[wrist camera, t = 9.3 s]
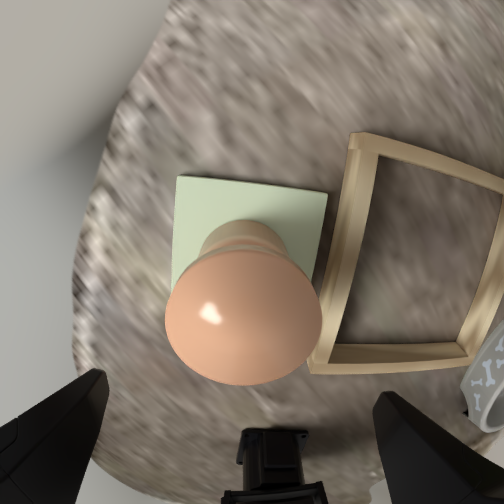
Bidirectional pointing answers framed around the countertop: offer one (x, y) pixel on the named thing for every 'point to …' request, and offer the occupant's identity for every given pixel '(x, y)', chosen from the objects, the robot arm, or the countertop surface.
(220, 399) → the countertop surface
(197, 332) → the peach rimmed cylinder
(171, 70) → the countertop surface
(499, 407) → the dog bowl
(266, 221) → the potting mat
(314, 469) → the countertop surface
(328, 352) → the wooden square frame
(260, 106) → the countertop surface
